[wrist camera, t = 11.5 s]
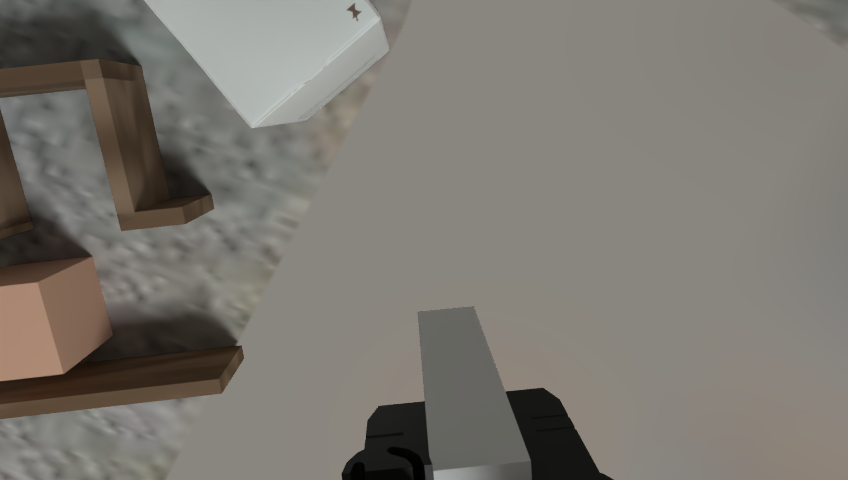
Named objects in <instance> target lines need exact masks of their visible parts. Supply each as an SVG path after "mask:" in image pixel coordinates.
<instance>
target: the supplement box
mask: <svg viewBox="0 0 848 480" xmlns="http://www.w3.org/2000/svg"><path fill="white" fill-rule="evenodd" d="M144 1H145V2H146V3H147V5H148V6H149V7H150V8H151V9H152V10H153V12H154V13H155V14H156V15H157V16H158V17H159V19H160V20H161V21H162V22H163V23H164V24H165V25H166V27H167V28H168V29H169V30H170V31H171V32H172V34H173V35H174V36H175V37H176V38H177V39H178V40H179V42H180V43H181V44H182V45H183V46H184V48H185V49H186V50H187V51H188V52H189V53H190V55H191V56H192V57H193V58H194V59H195V61H196V62H197V63H198V64H199V65H200V67H201V68H202V69H203V70H204V71H205V73H206V74H207V75H208V77H209V78H210V79H211V80H212V82H213V83H214V84H215V85H216V86H217V88H218V89H219V90H220V91H221V92H222V94H223V95H224V96H225V97H226V99H227V100H228V101H229V102H230V103H231V105H232V106H233V107H234V108H235V110H236V111H237V112H238V113H239V114H240V116H241V117H242V118H243V119H244V120H245V122H246V123H247V124H248V125H249V126H250V127H251V128H256V127H264V126H271V125H277V124H285V123H292V122H300V121H306V120H308V119H309V118H310V117H311V116H312V115H314V114H315V113H316V112H317V111H318V110H320V109H321V108H322V107H323V106H324V105H326V104H327V103H328V102H329V101H330V100H332V99H333V98H334V97H335V96H336V95H337V94H339V93H340V92H341V91H342V90H343V89H345V88H346V87H347V86H348V85H349V84H351V83H352V82H353V81H354V80H355V79H356V78H358V77H359V76H360V75H361V74H362V73H364V72H365V71H366V70H367V69H368V68H370V67H371V66H372V65H373V64H374V63H375V62H377V61H378V60H379V59H380V58H381V57H383V56H384V55H385V54H386V53H387V52H388V51H389V46H388V42H387V39H386V35H385V32H384V28H383V25H382V21H381V17H380V15H379V13H378V12H377V10H376V9H375V7H374V6H373V5H372V3H371V2H370V0H144Z"/></svg>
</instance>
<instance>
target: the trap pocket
mask: <svg viewBox="0 0 848 480" xmlns="http://www.w3.org/2000/svg"><path fill="white" fill-rule="evenodd" d="M78 89H87V93H88V97H89V101H90V105H91V109H92V113H93V117H94V122H95V126H96V130H97V134H98V138H99V142H100V146H101V150H102V154H103V159H104V163H105V167H106V171H107V175H108V179H109V183H110V187H111V191H112V196H113V200H114V204H115V208H116V212H117V216H118V220H119V223H120V221H121V222H123V221H124V220H125V221H124V222H129V221H130V220H131V221H136V217H134V216H135V213H134V212H136V211H139V210H142V209H144V208H147V207H149V206H152V205H155V204H157V203H160V202H163V201H165V200H168V199H170V196H169V191H168V187H167V182H166V177H165V173H164V168H163V164H162V159H161V154H160V150H159V145H158V141H157V136H156V132H155V127H154V122H153V118H152V113H151V109H150V104H149V99H148V95H147V90H146V86H145V81H144V77H143V72H142V67H141V66H138V65H132V64H126V63H121V62H115V61H109V60H103V59H90V60H81V61H71V62H62V63H52V64H43V65H34V66H24V67H15V68H5V69H0V98H3V97H12V96H22V95H31V94H41V93H50V92H60V91H69V90H78ZM124 213H125V214H124ZM131 213H132V214H131ZM122 214H123V215H122ZM133 214H134V216H133ZM25 215H26V217H25ZM27 215H28V216H27ZM121 215H122V216H121ZM126 215H127V216H126ZM128 215H129V216H128ZM131 216H132V217H133V218H131ZM29 217H30V213H29V210H28V206H27V203H26V199H25V196H24V192H23V189H22V185H21V182H20V178H19V175H18V171H17V167H16V164H15V160H14V157H13V153H12V150H11V146H10V143H9V139H8V136H7V132H6V128H5V125H4V121H3V118H2V114H1V111H0V225H1V224H5V226H6V224H7V225H9V226H12V225H13V224H14V225H15V226H18V225H19V224H20V225H21V224H24V223H25V222H27V223H28V222H30V221H31V217H30V218H29ZM119 217H120V218H119ZM125 217H126V218H125ZM127 217H129V218H127ZM18 218H19V219H20V220H18ZM22 218H23V219H22ZM25 218H26V219H25ZM130 218H131V219H130ZM21 219H22V221H21ZM12 220H13V223H12ZM14 220H15V221H14ZM16 220H17V221H19V223H17V224H16ZM25 220H27V221H25ZM5 222H6V223H5ZM20 222H21V223H20ZM14 225H13V226H12V227H14ZM3 226H4V225H3ZM5 226H4V227H2V226H1V227H2V228H1V227H0V228H1V229H3V228H5ZM9 226H8V227H9ZM8 227H7V226H6V229H7V228H8ZM10 228H11V227H10Z"/></svg>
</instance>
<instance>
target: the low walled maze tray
mask: <svg viewBox="0 0 848 480" xmlns="http://www.w3.org/2000/svg"><path fill="white" fill-rule="evenodd" d="M213 209H214V205H213V200H212V195H211V194H207V195H198V196H189V197H180V198H171V199H168V200H165V201H163V202H160V203H157V204H155V205H152V206H149V207H147V208H144V209H142V210H139V211H136V212H134V213H135V216H134V214H133V216H134V217H136V221H131V220H130V221H129V222H124V221H125V220H124V221H123V222H121V221H120V223H119V224H120V228H121V231H125V230H134V229H143V228H152V227H161V226H170V225H180V224H186V223H188V222H190V221H192V220H194V219H196V218H198V217H199V216H201V215H203V214H205V213H207V212H209V211H211V210H213ZM124 214H125V213H124ZM131 214H132V213H131ZM122 215H123V214H122ZM122 215H121V216H122ZM27 216H28V215H27ZM126 216H127V215H126ZM128 216H129V215H128ZM25 217H26V215H25ZM29 218H30V217H29ZM119 218H120V217H119ZM125 218H126V217H125ZM127 218H129V217H127ZM131 218H133V217H132V216H131ZM131 218H130V219H131ZM22 219H23V218H22ZM22 219H21V221H22ZM25 219H26V218H25ZM18 220H20V219H19V218H18ZM14 221H15V220H14ZM25 221H27V220H25ZM5 223H6V222H5ZM12 223H13V220H12ZM17 223H19V221H17V220H16V224H17ZM20 223H21V222H20ZM3 225H4V226H5V224H1V225H0V227H1V226H2V227H4V226H3ZM13 225H14V224H13ZM13 225H12V226H13ZM6 226H7V227H8V226H9V225H7V224H6ZM6 226H5V228H3V229H1V228H2V227H1V228H0V239H3V238H6V237H9V236H12V235H16V234H19V233H22V232H25V231H28V230H31V229H34V228H33V224H32V221H30V222H28V223H27V222H25V223H24V224H21V225H20V224H19V225H18V226H15V225H14V227H12V226H9V227H8V228H7V229H6ZM10 227H11V228H10ZM243 359H244V355H243V350H242V346H232V347H224V348H215V349H206V350H197V351H189V352H180V353H171V354H163V355H154V356H145V357H136V358H128V359H119V360H110V361H101V362H93V363H84V364H76V365H75V366H73V367H72V368H71V369H69V370H68V371H67V372H66V373H64V374H60V375H51V376H42V377H33V378H25V379H16V380H7V381H0V419H5V418H14V417H23V416H31V415H40V414H49V413H57V412H66V411H74V410H83V409H92V408H100V407H109V406H118V405H126V404H135V403H143V402H152V401H161V400H169V399H178V398H187V397H195V396H204V395H212V394H221V393H222V392H223V391H224V389H225V387H226V386H227V384H228V383H229V381H230V380H231V378H232V377H233V375H234V373H235V372H236V370H237V369H238V367H239V365H240V364H241V362H242V361H243Z"/></svg>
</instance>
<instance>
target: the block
mask: <svg viewBox="0 0 848 480" xmlns="http://www.w3.org/2000/svg"><path fill="white" fill-rule="evenodd" d="M112 336H113V333H112V329H111V325H110V321H109V317H108V313H107V310H106V306H105V302H104V298H103V294H102V290H101V286H100V283H99V279H98V275H97V271H96V267H95V263H94V259H93V256H91V257H82V258H73V259H64V260H55V261H46V262H37V263H28V264H19V265H10V266H5V267H2V268H0V381H7V380H16V379H25V378H33V377H42V376H51V375H60V374H64V373H66V372H67V371H68V370H69V369H71V368H72V367H73V366H75V365H76V364H77V363H78V362H80V361H81V360H82V359H84V358H85V357H86V356H87V355H89V354H90V353H91V352H93V351H94V350H95V349H96V348H98V347H99V346H100V345H102V344H103V343H104V342H105V341H107V340H108V339H109V338H111V337H112Z"/></svg>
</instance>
